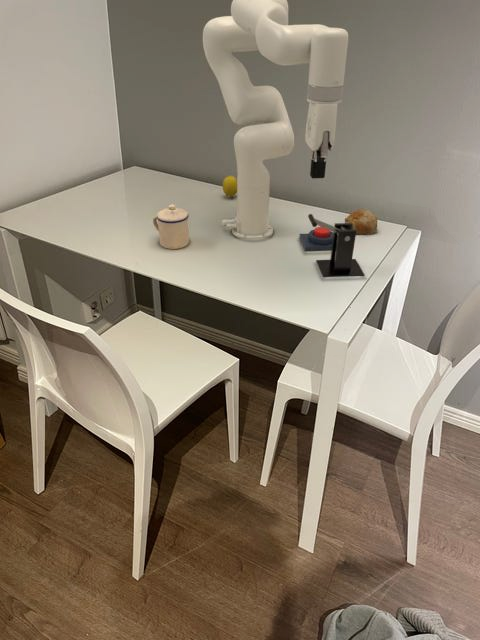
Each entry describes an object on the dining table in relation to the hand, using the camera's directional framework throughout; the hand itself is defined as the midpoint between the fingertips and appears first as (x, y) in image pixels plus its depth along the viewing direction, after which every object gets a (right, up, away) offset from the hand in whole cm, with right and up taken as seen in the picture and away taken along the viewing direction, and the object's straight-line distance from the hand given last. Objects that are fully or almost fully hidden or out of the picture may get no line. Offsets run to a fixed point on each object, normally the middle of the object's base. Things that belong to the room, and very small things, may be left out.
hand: (317, 177), depth 118 cm
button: (+5, -10, +26) cm, 28 cm away
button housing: (+5, -12, +28) cm, 31 cm away
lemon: (-22, +10, +60) cm, 64 cm away
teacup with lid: (-39, -11, +30) cm, 50 cm away
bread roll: (+19, -6, +38) cm, 43 cm away
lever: (+4, -12, +9) cm, 15 cm away
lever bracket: (+8, -21, +16) cm, 27 cm away
